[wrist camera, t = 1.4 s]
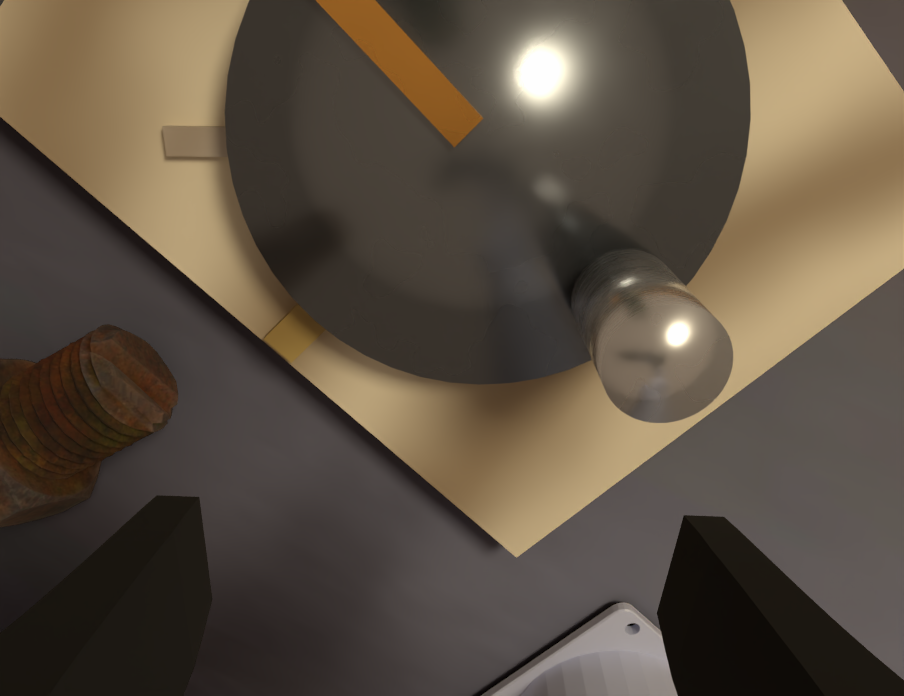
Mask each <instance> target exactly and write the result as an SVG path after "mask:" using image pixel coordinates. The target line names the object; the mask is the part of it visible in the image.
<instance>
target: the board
mask: <svg viewBox="0 0 904 696" xmlns="http://www.w3.org/2000/svg"><path fill="white" fill-rule="evenodd" d="M248 2H249V0H4V2H3V3H2V5H1V6H0V117H1V118H2V119H3V120H5V121H6V122H7V123H8V124H9V125H11V126H12V127H13V128H14V129H15V130H16V131H18V132H19V133H20V134H21V135H22V136H23V137H25V138H26V139H27V140H28V141H29V142H30V143H32V144H33V145H34V146H35V147H36V148H37V149H39V150H40V151H41V152H42V153H43V154H44V155H46V156H47V157H48V158H49V159H50V160H52V161H53V162H54V163H55V164H56V165H57V166H59V167H60V168H61V169H62V170H63V171H64V172H66V173H67V174H68V175H69V176H70V177H71V178H73V179H74V180H75V181H76V182H77V183H78V184H80V185H81V186H82V187H83V188H84V189H85V190H87V191H88V192H89V193H90V194H91V195H92V196H94V197H95V198H96V199H97V200H98V201H100V202H101V203H102V204H103V205H104V206H105V207H107V208H108V209H109V210H110V211H111V212H112V213H114V214H115V215H116V216H117V217H118V218H119V219H121V220H122V221H123V222H124V223H125V224H126V225H128V226H129V227H130V228H131V229H132V230H133V231H135V232H136V233H137V234H138V235H139V236H140V237H142V238H143V239H144V240H145V241H146V242H148V243H149V244H150V245H151V246H152V247H153V248H155V249H156V250H157V251H158V252H159V253H160V254H162V255H163V256H164V257H165V258H166V259H167V260H169V261H170V262H171V263H172V264H173V265H174V266H176V267H177V268H178V269H179V270H180V271H181V272H183V273H184V274H185V275H186V276H187V277H189V278H190V279H191V280H192V281H193V282H194V283H196V284H197V285H198V286H199V287H200V288H201V289H203V290H204V291H205V292H206V293H207V294H208V295H210V296H211V297H212V298H213V299H214V300H215V301H217V302H218V303H219V304H220V305H221V306H222V307H224V308H225V309H226V310H227V311H228V312H229V313H231V314H232V315H233V316H234V317H235V318H237V319H238V320H239V321H240V322H241V323H242V324H244V325H245V326H246V327H247V328H248V329H249V330H251V331H252V332H253V333H254V334H255V335H256V336H258V337H259V338H260V339H261V340H262V341H263V342H265V343H266V344H267V345H268V346H269V347H270V348H272V349H273V350H274V351H275V352H276V353H277V354H279V355H280V356H281V357H282V358H283V359H285V360H286V361H287V362H288V363H289V364H290V365H292V366H293V367H294V368H295V369H296V370H297V371H299V372H300V373H301V374H302V375H303V376H304V377H306V378H307V379H308V380H309V381H310V382H311V383H313V384H314V385H315V386H316V387H317V388H318V389H320V390H321V391H322V392H323V393H324V394H326V395H327V396H328V397H329V398H330V399H331V400H333V401H334V402H335V403H336V404H337V405H338V406H340V407H341V408H342V409H343V410H344V411H345V412H347V413H348V414H349V415H350V416H351V417H352V418H354V419H355V420H356V421H357V422H358V423H359V424H361V425H362V426H363V427H364V428H365V429H366V430H368V431H369V432H370V433H371V434H372V435H374V436H375V437H376V438H377V439H378V440H379V441H381V442H382V443H383V444H384V445H385V446H386V447H388V448H389V449H390V450H391V451H392V452H393V453H395V454H396V455H397V456H398V457H399V458H400V459H402V460H403V461H404V462H405V463H406V464H407V465H409V466H410V467H411V468H412V469H413V470H415V471H416V472H417V473H418V474H419V475H420V476H422V477H423V478H424V479H425V480H426V481H427V482H429V483H430V484H431V485H432V486H433V487H434V488H436V489H437V490H438V491H439V492H440V493H441V494H443V495H444V496H445V497H446V498H447V499H448V500H450V501H451V502H452V503H453V504H454V505H455V506H457V507H458V508H459V509H460V510H461V511H463V512H464V513H465V514H466V515H467V516H468V517H470V518H471V519H472V520H473V521H474V522H475V523H477V524H478V525H479V526H480V527H481V528H482V529H484V530H485V531H486V532H487V533H488V534H489V535H491V536H492V537H493V538H494V539H495V540H496V541H498V542H499V543H500V544H501V545H502V546H503V547H505V548H506V549H507V550H508V551H509V552H511V553H512V554H513V555H514V556H515V557H516V558H517V557H518V556H519V555H521V554H522V553H523V552H525V551H526V550H527V549H529V548H530V547H531V546H533V545H534V544H535V543H537V542H538V541H539V540H541V539H542V538H543V537H545V536H546V535H547V534H549V533H550V532H551V531H553V530H554V529H555V528H557V527H558V526H559V525H561V524H562V523H564V522H565V521H566V520H568V519H569V518H570V517H572V516H573V515H574V514H576V513H577V512H578V511H580V510H581V509H582V508H584V507H585V506H586V505H588V504H589V503H590V502H592V501H593V500H594V499H596V498H597V497H598V496H600V495H601V494H602V493H604V492H605V491H606V490H608V489H609V488H610V487H612V486H613V485H614V484H616V483H617V482H618V481H620V480H621V479H622V478H624V477H625V476H626V475H628V474H629V473H630V472H632V471H633V470H634V469H636V468H637V467H638V466H640V465H641V464H643V463H644V462H645V461H647V460H648V459H649V458H651V457H652V456H653V455H655V454H656V453H657V452H659V451H660V450H661V449H663V448H664V447H665V446H667V445H668V444H669V443H671V442H672V441H673V440H675V439H676V438H677V437H679V436H680V435H681V434H683V433H684V432H685V431H687V430H688V429H689V428H691V427H692V426H693V425H695V424H696V423H697V422H699V421H700V420H701V419H703V418H704V417H705V416H707V415H708V414H709V413H711V412H712V411H713V410H715V409H716V408H717V407H719V406H720V405H722V404H723V403H724V402H726V401H727V400H728V399H730V398H731V397H732V396H734V395H735V394H736V393H738V392H739V391H740V390H742V389H743V388H744V387H746V386H747V385H748V384H750V383H751V382H752V381H754V380H755V379H756V378H758V377H759V376H760V375H762V374H763V373H764V372H766V371H767V370H768V369H770V368H771V367H772V366H774V365H775V364H776V363H778V362H779V361H780V360H782V359H783V358H784V357H786V356H787V355H788V354H790V353H791V352H792V351H794V350H795V349H796V348H798V347H799V346H801V345H802V344H803V343H805V342H806V341H807V340H809V339H810V338H811V337H813V336H814V335H815V334H817V333H818V332H819V331H821V330H822V329H823V328H825V327H826V326H827V325H829V324H830V323H831V322H833V321H834V320H835V319H837V318H838V317H839V316H841V315H842V314H843V313H845V312H846V311H847V310H849V309H850V308H851V307H853V306H854V305H855V304H857V303H858V302H859V301H861V300H862V299H863V298H865V297H866V296H867V295H869V294H870V293H871V292H873V291H874V290H875V289H877V288H878V287H880V286H881V285H882V284H884V283H885V282H886V281H888V280H889V279H890V278H892V277H893V276H894V275H896V274H897V273H898V272H900V271H901V270H902V269H904V91H903V90H902V88H901V87H900V85H899V84H898V83H897V81H896V80H895V78H894V77H893V75H892V74H891V72H890V71H889V69H888V68H887V66H886V65H885V63H884V62H883V60H882V59H881V57H880V56H879V55H878V53H877V52H876V50H875V49H874V47H873V46H872V44H871V43H870V41H869V40H868V38H867V37H866V35H865V34H864V32H863V31H862V29H861V28H860V27H859V25H858V24H857V22H856V21H855V19H854V18H853V16H852V15H851V13H850V12H849V10H848V9H847V7H846V6H845V4H844V3H843V1H842V0H730V2H731V4H732V6H733V8H734V11H735V14H736V18H737V21H738V25H739V28H740V32H741V35H742V39H743V42H744V46H745V52H746V58H747V65H748V72H749V79H750V108H751V121H750V130H749V139H748V148H747V156H746V160H745V164H744V169H743V173H742V177H741V181H740V185H739V189H738V192H737V195H736V197H735V200H734V203H733V205H732V208H731V211H730V213H729V216H728V219H727V222H726V223H725V225H724V227H723V229H722V231H721V233H720V235H719V237H718V239H717V241H716V243H715V245H714V247H713V249H712V251H711V252H710V254H709V255H708V257H707V258H706V260H705V261H704V263H703V264H702V266H701V267H700V269H699V270H698V272H697V273H696V274H695V276H694V277H693V279H692V280H691V281H690V282H689V284H688V285H687V286H686V287H687V288H688V289H689V290H690V291H691V292H692V293H693V294H694V295H695V296H696V298H697V299H698V300H699V301H700V302H701V303H702V304H703V305H704V306H705V307H706V308H707V309H708V310H709V311H710V312H711V313H712V314H713V316H714V317H715V318H716V319H717V320H718V321H719V322H720V323H721V324H722V325H723V327H724V328H725V329H726V331H727V333H728V335H729V337H730V340H731V343H732V348H733V366H732V370H731V374H730V377H729V379H728V382H727V383H726V385H725V387H724V389H723V390H722V392H721V393H720V394H719V396H718V397H717V398H716V399H715V400H714V401H713V402H712V403H711V404H709V405H708V406H707V407H706V408H704V409H703V410H701V411H700V412H698V413H696V414H694V415H693V416H690V417H688V418H685V419H682V420H679V421H675V422H669V423H650V422H645V421H641V420H638V419H635V418H632V417H630V416H628V415H627V414H625V413H623V412H622V411H621V410H619V409H618V408H617V407H616V406H615V405H614V404H613V402H612V401H611V400H610V398H609V397H608V395H607V393H606V391H605V389H604V387H603V384H602V382H601V380H600V377H599V375H598V373H597V370H596V368H595V366H594V363H593V361H592V360H591V361H588V362H586V363H584V364H581V365H579V366H576V367H574V368H572V369H569V370H566V371H563V372H559V373H556V374H552V375H549V376H545V377H542V378H538V379H532V380H526V381H520V382H514V383H505V384H483V385H477V384H463V383H450V382H444V381H439V380H434V379H429V378H424V377H419V376H416V375H413V374H410V373H407V372H404V371H401V370H397V369H394V368H391V367H389V366H387V365H385V364H383V363H380V362H378V361H376V360H374V359H372V358H370V357H367V356H365V355H363V354H362V353H360V352H358V351H357V350H355V349H354V348H352V347H350V346H349V345H347V344H345V343H344V342H342V341H340V340H339V339H338V338H336V337H335V336H334V335H332V334H331V333H330V332H329V331H327V330H326V329H325V328H324V327H322V326H321V325H320V324H318V323H317V322H316V321H315V320H314V319H313V318H312V317H311V316H310V315H309V314H308V313H307V312H306V311H305V310H304V309H303V308H302V307H301V306H300V305H299V304H298V303H297V302H296V301H295V300H294V299H293V298H292V297H291V296H290V294H289V293H288V292H287V291H286V289H285V288H284V287H283V286H282V284H281V283H280V282H279V280H278V279H277V278H276V277H275V275H274V274H273V273H272V271H271V269H270V268H269V266H268V264H267V263H266V261H265V259H264V258H263V256H262V254H261V253H260V251H259V249H258V248H257V246H256V244H255V242H254V240H253V237H252V235H251V233H250V231H249V228H248V226H247V224H246V222H245V219H244V217H243V215H242V212H241V208H240V205H239V202H238V199H237V195H236V192H235V189H234V186H233V182H232V177H231V171H230V165H229V160H228V154H227V148H226V129H225V102H226V89H227V76H228V71H229V67H230V62H231V57H232V52H233V48H234V43H235V39H236V36H237V33H238V30H239V27H240V24H241V22H242V19H243V16H244V13H245V10H246V7H247V5H248Z"/></svg>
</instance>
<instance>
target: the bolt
mask: <svg viewBox="0 0 904 696" xmlns="http://www.w3.org/2000/svg"><path fill="white" fill-rule="evenodd" d="M177 400H178V390H177V384H176V380H175V379H174V377H173V375H172V374H171V372H170V371H169V369H168V367H167V366H166V364H165V363H164V362H163V360H162V359H161V357H160V356H159V355H158V353H157V352H156V351H155V350H154V349H153V348H152V347H151V346H150V345H149V344H148V343H147V342H146V341H144V340H143V339H141V338H139V337H137V336H135V335H134V334H132V333H130V332H127V331H125V330H122V329H120V328H118V327H116V326H112V325H108V324H107V325H102V326H100V327H98V328H97V329H96V330H94V331H91V332H90V333H88V334H87V335H86V336H84V337H83V338H81V339H79V340H77V341H76V342H73V343H70V345H69V346H67V347H65V348H63V349H61V350H59V351H58V352H56V353H54V354H52V355H51V356H49V357H47V358H46V359H42V360H41V361H40V362H38V363H35V362H32V361H27V360H21V359H0V527H5V526H12V525H18V524H22V523H26V522H30V521H34V520H38V519H42V518H45V517H48V516H51V515H55V514H58V513H61V512H63V511H65V510H67V509H69V508H71V507H73V506H75V505H77V504H79V503H81V502H82V501H84V500H86V499H88V498H90V496H91V493H92V491H93V488H94V485H95V483H96V480H97V477H98V474H99V469H100V465H101V461H102V460H103V459H105V458H106V457H108V456H111V455H113V454H114V453H115V452H116V451H120V450H122V449H123V448H124V447H126V446H130V445H132V444H133V443H134V442H136V441H138V440H140V439H142V438H144V437H146V436H148V435H150V434H152V433H154V432H157V431H159V430H161V429H162V428H164V426H165V425H166V424H167V420H168V419H170V417H171V414H172V408H173V407H174V406H175V405H177Z"/></svg>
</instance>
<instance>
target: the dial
mask: <svg viewBox="0 0 904 696" xmlns="http://www.w3.org/2000/svg"><path fill="white" fill-rule="evenodd" d="M750 121H751V108H750V79H749V72H748V65H747V58H746V52H745V46H744V42H743V39H742V35H741V32H740V28H739V25H738V21H737V18H736V14H735V11H734V8H733V6H732V4H731V2H730V0H249V2H248V5H247V7H246V10H245V13H244V16H243V19H242V22H241V24H240V27H239V30H238V33H237V36H236V39H235V43H234V48H233V52H232V57H231V62H230V67H229V71H228V76H227V89H226V102H225V129H226V148H227V154H228V160H229V165H230V171H231V177H232V182H233V186H234V189H235V192H236V195H237V199H238V202H239V205H240V208H241V212H242V215H243V217H244V219H245V222H246V224H247V226H248V228H249V231H250V233H251V235H252V237H253V240H254V242H255V244H256V246H257V248H258V249H259V251H260V253H261V254H262V256H263V258H264V259H265V261H266V263H267V264H268V266H269V268H270V269H271V271H272V273H273V274H274V275H275V277H276V278H277V279H278V280H279V282H280V283H281V284H282V286H283V287H284V288H285V289H286V291H287V292H288V293H289V294H290V296H291V297H292V298H293V299H294V300H295V301H296V302H297V303H298V304H299V305H300V306H301V307H302V308H303V309H304V310H305V311H306V312H307V313H308V314H309V315H310V316H311V317H312V318H313V319H314V320H315V321H316V322H317V323H318V324H320V325H321V326H322V327H324V328H325V329H326V330H327V331H329V332H330V333H331V334H332V335H334V336H335V337H336V338H338V339H339V340H340V341H342V342H344V343H345V344H347V345H349V346H350V347H352V348H354V349H355V350H357V351H358V352H360V353H362V354H363V355H365V356H367V357H370V358H372V359H374V360H376V361H378V362H380V363H383V364H385V365H387V366H389V367H391V368H394V369H397V370H401V371H404V372H407V373H410V374H413V375H416V376H419V377H424V378H429V379H434V380H439V381H444V382H450V383H463V384H477V385H483V384H505V383H514V382H520V381H526V380H532V379H538V378H542V377H545V376H549V375H552V374H556V373H559V372H563V371H566V370H569V369H572V368H574V367H576V366H579V365H581V364H584V363H586V362H588V361H591V360H592V361H593V363H594V366H595V368H596V370H597V373H598V375H599V377H600V380H601V382H602V384H603V387H604V389H605V391H606V393H607V395H608V397H609V398H610V400H611V401H612V402H613V404H614V405H615V406H616V407H617V408H618V409H619V410H621V411H622V412H623V413H625V414H627V415H628V416H630V417H632V418H635V419H638V420H641V421H645V422H650V423H669V422H675V421H679V420H682V419H685V418H688V417H690V416H693V415H694V414H696V413H698V412H700V411H701V410H703V409H704V408H706V407H707V406H708V405H709V404H711V403H712V402H713V401H714V400H715V399H716V398H717V397H718V396H719V394H720V393H721V392H722V390H723V389H724V387H725V385H726V383H727V382H728V379H729V377H730V374H731V370H732V366H733V348H732V343H731V340H730V337H729V335H728V333H727V331H726V329H725V328H724V327H723V325H722V324H721V323H720V322H719V321H718V320H717V319H716V318H715V317H714V316H713V314H712V313H711V312H710V311H709V310H708V309H707V308H706V307H705V306H704V305H703V304H702V303H701V302H700V301H699V300H698V299H697V298H696V296H695V295H694V294H693V293H692V292H691V291H690V290H689V289H688V288H687V287H686V286H687V285H688V284H689V282H690V281H691V280H692V279H693V277H694V276H695V274H696V273H697V272H698V270H699V269H700V267H701V266H702V264H703V263H704V261H705V260H706V258H707V257H708V255H709V254H710V252H711V251H712V249H713V247H714V245H715V243H716V241H717V239H718V237H719V235H720V233H721V231H722V229H723V227H724V225H725V223H726V222H727V219H728V216H729V213H730V211H731V208H732V205H733V203H734V200H735V197H736V195H737V192H738V189H739V185H740V181H741V177H742V173H743V169H744V164H745V160H746V156H747V148H748V139H749V130H750Z"/></svg>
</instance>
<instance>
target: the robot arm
mask: <svg viewBox="0 0 904 696" xmlns="http://www.w3.org/2000/svg"><path fill="white" fill-rule="evenodd" d="M211 602H212V593H211V586H210V578H209V570H208V562H207V554H206V547H205V539H204V531H203V523H202V515H201V507H200V500H199V497H182V496H156V497H155V498H154V499H152V500H151V501H150V502H149V503H148V504H147V505H146V506H144V507H143V508H142V509H141V510H140V511H139V512H138V513H137V514H135V515H134V516H133V517H132V518H131V519H130V520H129V521H128V522H127V523H126V524H125V525H123V526H122V527H121V528H120V529H119V530H118V531H117V532H116V533H115V534H114V535H113V536H111V537H110V538H109V539H108V540H107V541H106V542H105V543H104V544H103V545H102V546H101V547H99V548H98V549H97V550H96V551H95V552H94V553H93V554H92V555H91V556H90V557H88V558H87V559H86V560H85V561H84V562H83V563H82V564H81V565H80V566H78V567H77V568H76V569H75V570H74V571H73V572H72V573H70V574H69V575H68V576H67V577H66V578H65V579H64V580H63V581H61V582H60V583H59V584H58V585H57V586H56V587H55V588H53V589H52V590H51V591H50V592H49V593H48V594H47V595H45V596H44V597H43V598H42V599H41V600H40V601H39V602H37V603H36V604H35V605H34V606H33V607H32V608H30V609H29V610H28V611H27V612H26V613H24V614H23V615H22V616H21V617H20V618H18V619H17V620H16V621H15V622H13V623H12V624H11V625H10V626H8V627H7V628H6V629H5V630H4V631H2V632H1V633H0V696H183V694H184V692H185V689H186V687H187V684H188V682H189V679H190V676H191V674H192V671H193V669H194V666H195V662H196V658H197V655H198V651H199V648H200V644H201V641H202V637H203V633H204V629H205V625H206V621H207V618H208V614H209V610H210V606H211ZM657 615H658V620H659V624H660V629H661V631H660V630H659V629H658V628H657V627H656V626H655V625H653V624H652V623H651V622H650V621H649V620H648V619H647V618H646V617H644V616H643V615H642V614H641V613H640V612H639V611H638V610H637V609H635V608H634V607H633V606H632V605H630V604H628V603H617V604H614V605H612V606H611V607H609V608H608V609H606V610H605V611H604V612H602V613H601V614H599V615H598V616H596V617H595V618H593V619H592V620H590V621H589V622H587V623H586V624H585V625H583V626H582V627H580V628H579V629H577V630H576V631H574V632H573V633H571V634H570V635H569V636H567V637H566V638H564V639H563V640H561V641H560V642H558V643H557V644H555V645H554V646H552V647H551V648H550V649H548V650H547V651H545V652H544V653H542V654H541V655H539V656H538V657H536V658H535V659H533V660H532V661H531V662H529V663H528V664H526V665H525V666H523V667H522V668H520V669H519V670H517V671H516V672H515V673H513V674H512V675H510V676H509V677H507V678H506V679H504V680H503V681H501V682H500V683H498V684H497V685H496V686H494V687H493V688H491V689H490V690H488V691H487V692H485V693H484V694H482V695H481V696H904V680H903V679H902V678H900V677H899V676H898V675H897V674H896V673H894V672H893V671H892V670H891V669H890V668H888V667H887V666H886V665H885V664H884V663H882V662H881V661H880V660H879V659H878V658H876V657H875V656H874V655H873V654H872V653H871V652H870V651H868V650H867V649H866V648H865V647H864V646H863V645H862V644H860V643H859V642H858V641H857V640H856V639H855V638H854V637H852V636H851V635H850V634H849V633H848V632H847V631H846V630H845V629H843V628H842V627H841V626H840V625H839V624H838V623H837V622H836V621H835V620H833V619H832V618H831V617H830V616H829V615H828V614H827V613H826V612H825V611H824V610H823V609H822V608H820V607H819V606H818V605H817V604H816V603H815V602H814V601H813V600H812V599H811V598H810V597H809V596H807V595H806V594H805V593H804V592H803V591H802V590H801V589H800V588H799V587H798V586H797V585H796V584H795V583H794V582H793V581H792V580H791V579H789V578H788V577H787V576H786V575H785V574H784V573H783V572H782V571H781V570H780V569H779V568H778V567H777V566H776V565H775V564H774V563H773V562H772V561H771V560H769V559H768V558H767V557H766V556H765V555H764V554H763V553H762V552H761V551H760V550H759V549H758V548H757V547H756V546H755V545H754V544H753V543H752V542H751V541H750V540H749V539H747V538H746V537H745V536H744V535H743V534H742V533H741V532H740V531H739V530H738V529H737V528H736V527H735V526H733V525H732V524H731V523H730V522H729V521H728V520H727V519H726V518H724V517H713V516H687V515H684V517H683V521H682V524H681V528H680V532H679V535H678V539H677V543H676V546H675V550H674V553H673V557H672V561H671V564H670V568H669V571H668V575H667V579H666V582H665V586H664V590H663V593H662V597H661V600H660V604H659V608H658V611H657ZM631 623H636V624H635V625H632V626H627V625H628V624H631Z"/></svg>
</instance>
